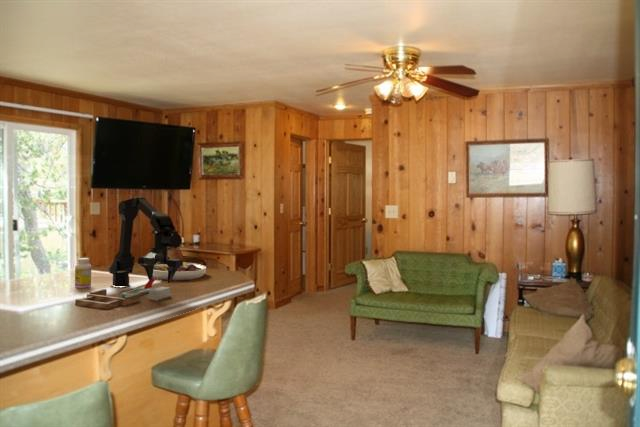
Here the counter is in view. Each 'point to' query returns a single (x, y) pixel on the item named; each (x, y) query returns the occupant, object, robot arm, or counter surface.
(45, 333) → the counter surface
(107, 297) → the jig
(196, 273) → the bowl
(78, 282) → the supplement bottle
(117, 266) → the robot arm
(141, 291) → the toy spaceship
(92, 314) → the counter surface
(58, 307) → the counter surface
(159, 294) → the matte grey rectangular prism
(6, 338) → the counter surface
